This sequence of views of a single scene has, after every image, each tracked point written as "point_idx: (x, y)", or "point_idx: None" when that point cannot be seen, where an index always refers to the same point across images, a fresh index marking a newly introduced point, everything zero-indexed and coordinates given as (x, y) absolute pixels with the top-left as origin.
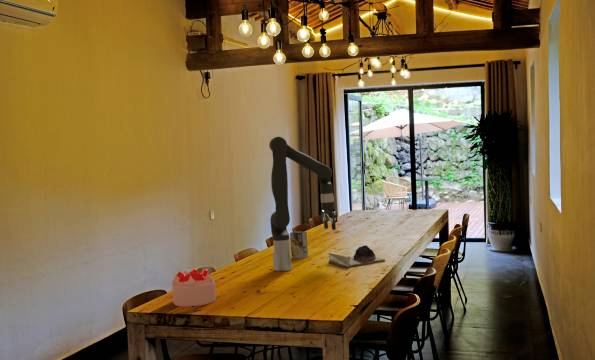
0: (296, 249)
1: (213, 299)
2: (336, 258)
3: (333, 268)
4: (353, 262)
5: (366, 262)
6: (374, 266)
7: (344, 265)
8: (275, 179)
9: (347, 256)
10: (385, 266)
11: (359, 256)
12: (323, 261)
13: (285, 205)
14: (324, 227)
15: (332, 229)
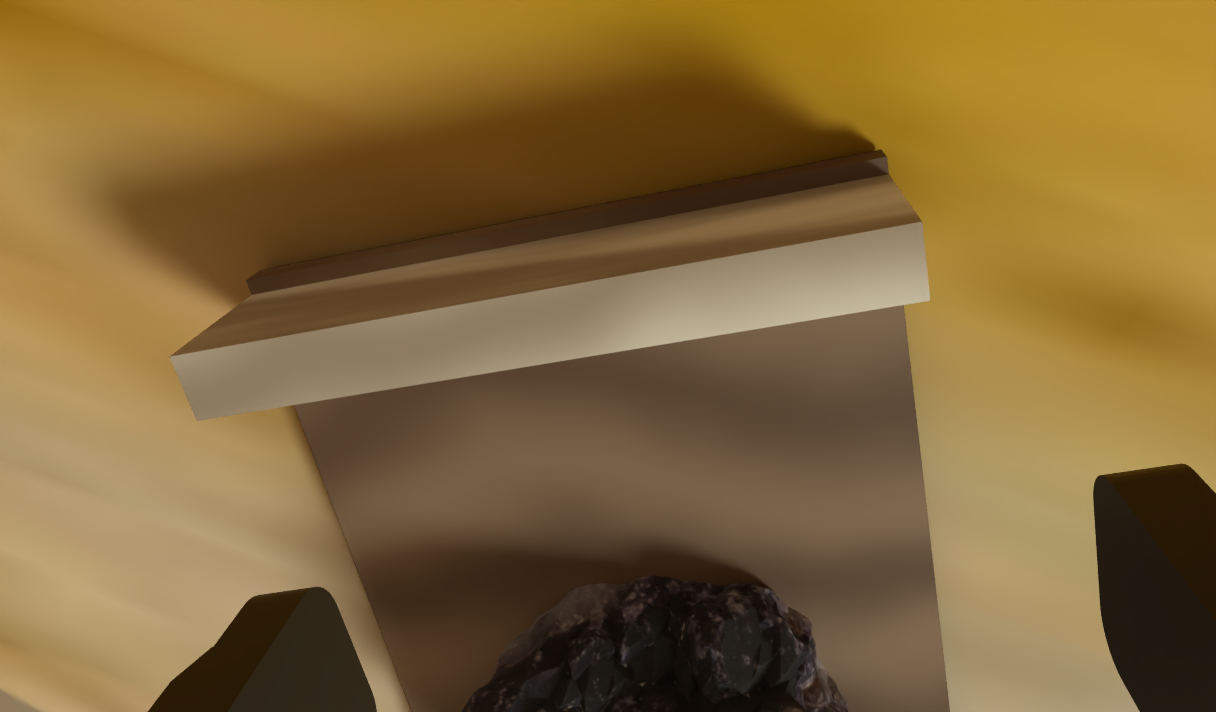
0: None
1: None
2: (579, 256)
3: (331, 60)
4: (480, 475)
5: (374, 613)
6: (201, 615)
7: (307, 268)
8: None
9: (202, 383)
10: (143, 706)
11: (542, 641)
12: (1158, 122)
13: None
14: (1174, 496)
15: (256, 596)
